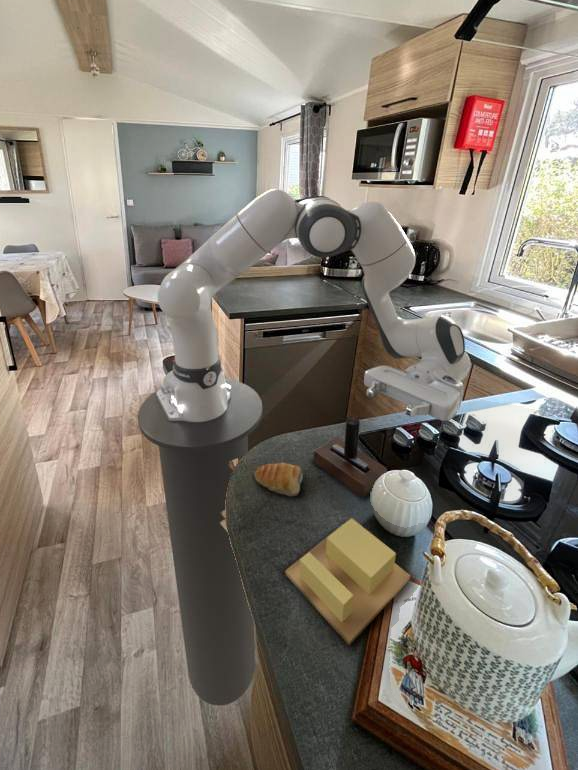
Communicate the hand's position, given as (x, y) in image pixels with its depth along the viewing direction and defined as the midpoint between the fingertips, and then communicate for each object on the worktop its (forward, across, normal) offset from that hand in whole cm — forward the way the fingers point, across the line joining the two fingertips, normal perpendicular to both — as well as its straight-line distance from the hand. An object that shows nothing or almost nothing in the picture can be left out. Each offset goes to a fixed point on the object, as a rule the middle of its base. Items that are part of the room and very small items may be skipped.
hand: (388, 402), depth 80 cm
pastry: (+25, -6, +12) cm, 28 cm away
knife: (+12, 0, +11) cm, 16 cm away
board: (+30, +14, +11) cm, 35 cm away
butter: (+27, +14, +10) cm, 32 cm away
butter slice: (+35, +14, +11) cm, 39 cm away
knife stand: (+12, 0, +11) cm, 16 cm away
